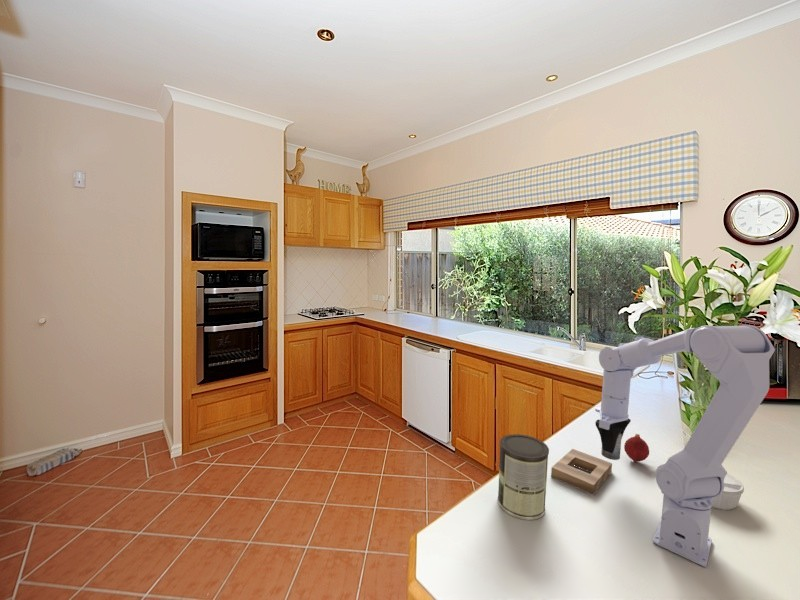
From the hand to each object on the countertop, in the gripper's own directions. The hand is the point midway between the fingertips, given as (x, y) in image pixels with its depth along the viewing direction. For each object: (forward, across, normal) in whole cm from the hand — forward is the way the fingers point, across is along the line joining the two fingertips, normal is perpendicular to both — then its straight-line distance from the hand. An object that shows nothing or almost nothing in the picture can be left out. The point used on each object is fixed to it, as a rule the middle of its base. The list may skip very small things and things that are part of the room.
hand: (611, 448), depth 88 cm
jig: (+9, +2, -6) cm, 11 cm away
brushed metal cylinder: (+2, 0, 0) cm, 2 cm away
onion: (+9, -17, +2) cm, 19 cm away
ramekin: (+9, -12, +18) cm, 23 cm away
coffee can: (+9, +25, -11) cm, 28 cm away
